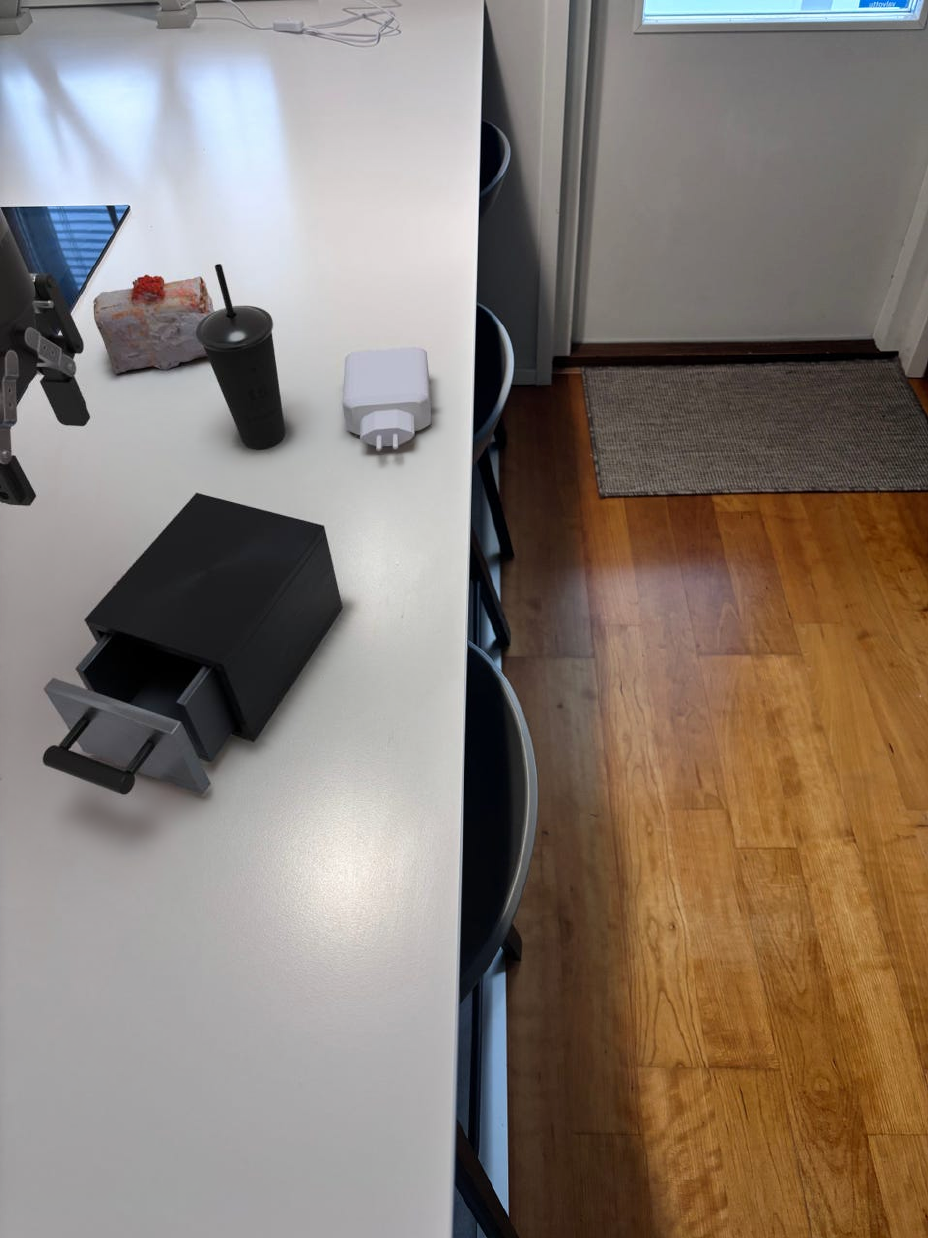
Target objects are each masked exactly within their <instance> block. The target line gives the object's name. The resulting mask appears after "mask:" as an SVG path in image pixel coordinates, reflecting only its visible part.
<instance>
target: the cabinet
mask: <svg viewBox="0 0 928 1238" xmlns="http://www.w3.org/2000/svg"><path fill="white" fill-rule="evenodd" d="M343 608H344V607H343V602H342V597H341V593H340V589H339V585H338V581H337V576H336V572H335V567H334V563H333V559H332V555H331V550H330V544H329V541H328V537H327V532H326V528H325V525H323V524H319V523H316V522H313V521H312V522H311V521H308V520H304V519H300V518H296V517H292V516H290V515H289V516H288V515H284V514H281V513H277V512H273V511H269V510H266V509H262V508H257V507H254V506H250V505H246V504H241V503H237V502H235V501H230V500H227V499H222V498H219V497H216V496H215V497H214V496H211V495H207V494H203V493H199V492H196V493H194V495H193V496H192V497H191V498H190V499H189V500H188V501H187V503H185V505H184V506H183V507H182V508H181V509H180V510H179V512H178V513H177V514H175V516H174V517H173V518H172V519H171V521H170V522H169V523H168V524H167V525H166V527H164V529H163V530H162V531H161V532H160V533H159V534H158V536H156V537H155V538H154V540H153V541H152V542H151V543H150V545H148V546H147V548H146V549H145V550H144V551H143V552H142V553H141V554H140V556H139V557H138V558H137V559H136V560H135V562H133V564H132V565H131V566H129V568H128V570H126V572H125V573H123V575H122V576H121V577H120V578H119V579H118V581H117V582H116V583H115V584H114V585H113V586H112V587H111V588H110V590H109V591H108V592H107V593H106V594H105V595H104V596H103V598H102V599H101V600H100V601H99V602H98V604H96V605H95V607H94V608H93V609H92V610H91V611H90V613H88V614H87V616H86V617H85V618H84V623H85V624H86V626H87V627H88V629H89V631H90V633H91V635H92V637H93V639H94V640H95V642H96V643H97V642H98V641H99V640H100V639H101V637H102V636H103V635H104V634H105V633H109V634H112V635H115V636H118V637H121V638H124V639H127V640H130V641H134V642H137V643H140V644H143V645H146V646H149V647H152V648H155V649H159V650H162V651H165V652H168V653H171V654H174V655H177V656H180V657H183V658H187V659H190V660H193V661H196V662H199V663H202V664H205V665H208V666H212V667H215V668H216V669H217V671H218V674H219V676H220V679H221V681H222V684H223V686H224V689H225V691H226V694H227V696H228V699H229V701H230V704H231V706H232V708H233V711H234V713H235V716H236V718H237V721H238V723H239V724H238V725H237V727H236V728H235V730H234V731H233V733H232V734H231V736H234V737H237V738H239V739H240V738H241V739H243V740H245V741H248V742H251V743H255V742H256V740H257V739H258V737H259V736H260V734H261V732H262V731H263V729H264V728H265V727H266V725H267V723H268V722H269V720H271V718H272V716H273V715H274V713H275V711H276V710H277V708H278V707H279V705H280V704H281V702H282V701H283V699H284V697H285V696H286V695H287V693H288V692H289V690H290V689H291V687H292V686H293V684H294V683H295V681H296V680H297V678H298V677H299V675H300V673H301V672H302V671H303V669H304V667H306V664H307V663H308V662H309V660H310V659H311V657H312V655H313V654H314V652H315V651H316V649H317V648H318V646H319V645H320V643H321V642H322V641H323V639H324V637H325V636H326V634H327V633H328V631H329V630H330V628H331V626H332V625H333V624H334V622H335V621H336V619H337V618H338V616H339V614H341V612H342V610H343Z"/></svg>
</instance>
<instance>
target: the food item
mask: <svg viewBox="0 0 928 1238" xmlns="http://www.w3.org/2000/svg"><path fill="white" fill-rule="evenodd" d="M132 285H133V287H132V288H126V289H118V290H112V291H102V292H100V294H98V295H97V296H96V297H95V298H94V299H93V302H92V303H93V318H94V323H95V325H96V327H97V329H98V332H99V334H100V336H101V339H102V341H103V345H104V348H105V349H106V352H107V354H108V357H109V359H110V362H111V366H112V368H113V371H114V373H115V374H116V375H118V374H120V373H125V372H127V371H133V370H140V369H144V368H145V369H146V368H151V367H155V368H158V369H159V370H163V371H164V370H166V371H167V370H170V369H171V368H174V367H178V366H179V365H180V363H187V362H190V361H193V360H196V359H201V358H205V357H208V356H207V354H206V352H205V349H204V347H203V345H201V343H200V342H199V341H198V339H197V336H196V329H197V326H198V324H199V323H200V322H201V321H202V320H203V319H204V318H205V317H206V316H208V315H209V314H211V313H213V312H215V311H216V310H215V308H214V304H213V299H212V297H211V296H210V294H209V292H208V288H207V284H206V282H205V280H204V279H203V278H202V276H196V277H194V278H187V279H183V280H175V281H170V282H169V281H168V282H165V280H164V278H163V277H162V276H161V275H160V276H159V275H154V276H150V275H149V274H144V275H143V276H138V277H137V278H136V279H134V280H133V281H132Z"/></svg>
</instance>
